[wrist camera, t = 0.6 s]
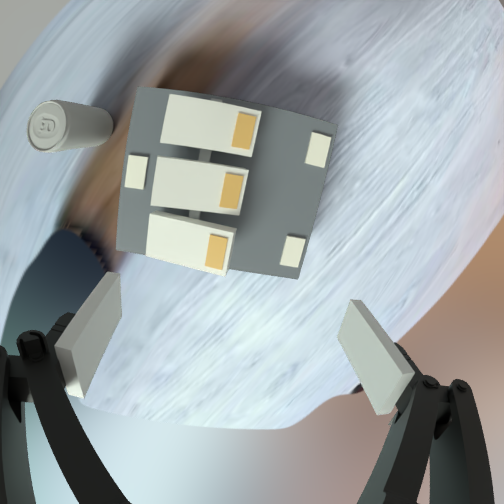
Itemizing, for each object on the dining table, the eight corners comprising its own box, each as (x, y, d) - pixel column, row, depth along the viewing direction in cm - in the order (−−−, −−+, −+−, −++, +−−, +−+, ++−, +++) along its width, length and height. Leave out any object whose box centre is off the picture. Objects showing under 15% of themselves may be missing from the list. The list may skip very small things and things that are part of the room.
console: (131, 232, 35) (111, 254, 28) (152, 93, 30) (134, 82, 23) (287, 258, 38) (300, 285, 31) (320, 125, 33) (343, 123, 26)
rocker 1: (159, 142, 24) (159, 142, 22) (169, 96, 23) (169, 93, 21) (246, 155, 27) (252, 157, 25) (256, 112, 25) (262, 111, 24)
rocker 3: (152, 250, 29) (144, 256, 28) (156, 210, 28) (148, 214, 26) (228, 269, 29) (224, 277, 27) (236, 228, 27) (233, 233, 26)
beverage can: (86, 105, 29) (32, 97, 18) (119, 111, 30) (73, 101, 19) (76, 143, 30) (21, 149, 19) (109, 150, 31) (60, 157, 20)
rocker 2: (150, 201, 26) (150, 205, 24) (157, 155, 24) (157, 156, 23) (235, 211, 29) (239, 216, 27) (243, 168, 27) (249, 170, 26)
